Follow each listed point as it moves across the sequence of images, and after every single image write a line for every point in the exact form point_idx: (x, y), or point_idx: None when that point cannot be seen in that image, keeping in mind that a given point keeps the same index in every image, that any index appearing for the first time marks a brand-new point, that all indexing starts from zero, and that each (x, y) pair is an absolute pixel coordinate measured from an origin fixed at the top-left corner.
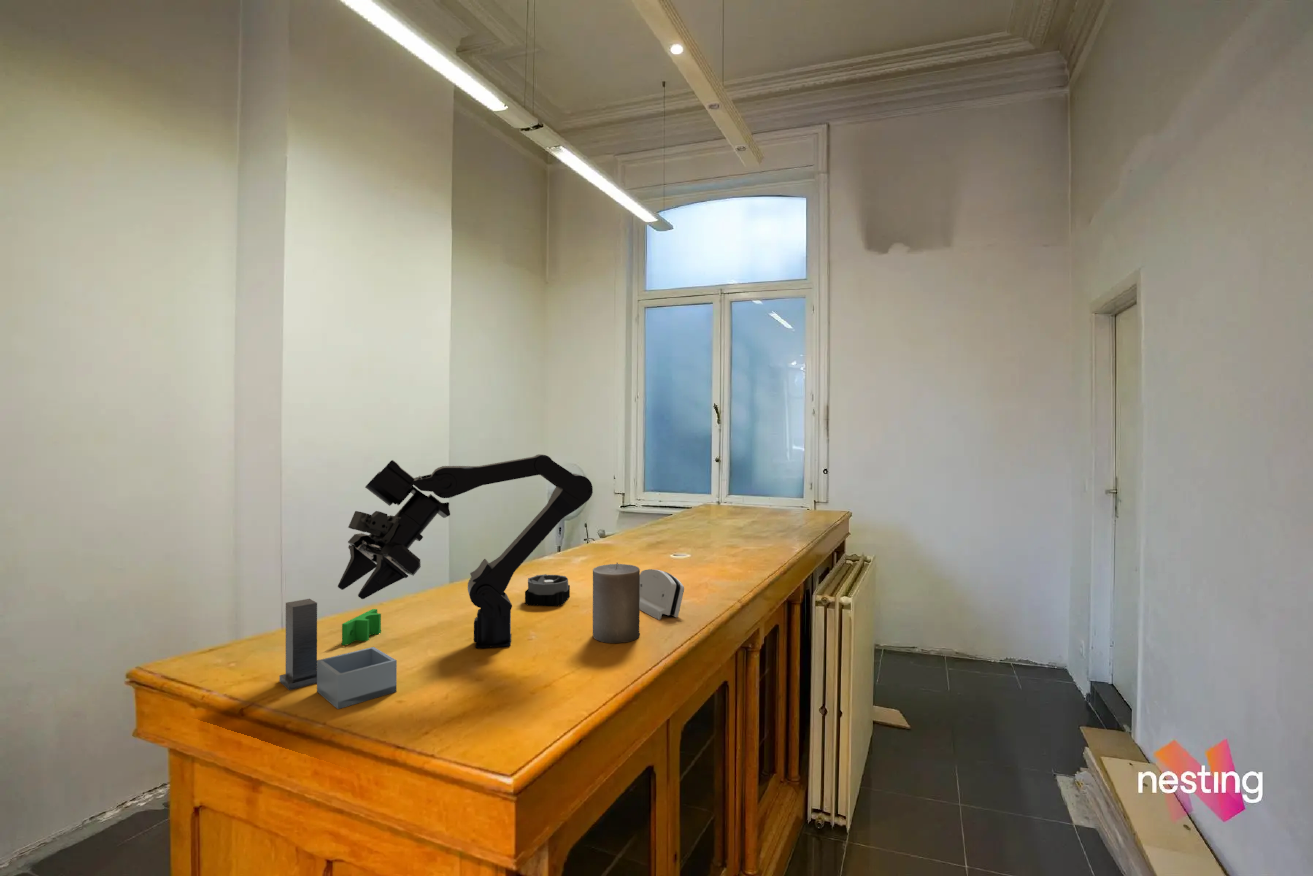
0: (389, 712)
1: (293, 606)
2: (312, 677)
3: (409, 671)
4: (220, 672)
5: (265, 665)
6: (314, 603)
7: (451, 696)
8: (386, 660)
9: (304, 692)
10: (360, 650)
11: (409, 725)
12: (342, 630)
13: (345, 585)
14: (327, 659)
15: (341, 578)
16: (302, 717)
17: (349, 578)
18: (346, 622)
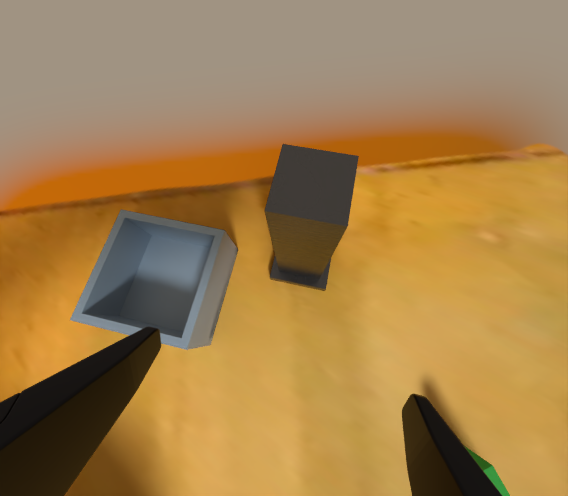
0: (74, 266)
1: (288, 148)
2: (276, 261)
3: (167, 407)
4: (457, 208)
5: (436, 265)
6: (267, 204)
7: (11, 363)
8: (108, 319)
9: (254, 238)
10: (194, 315)
11: (19, 255)
12: (476, 456)
13: (408, 435)
14: (212, 245)
15: (458, 443)
16: (177, 194)
17: (430, 486)
18: (500, 486)
